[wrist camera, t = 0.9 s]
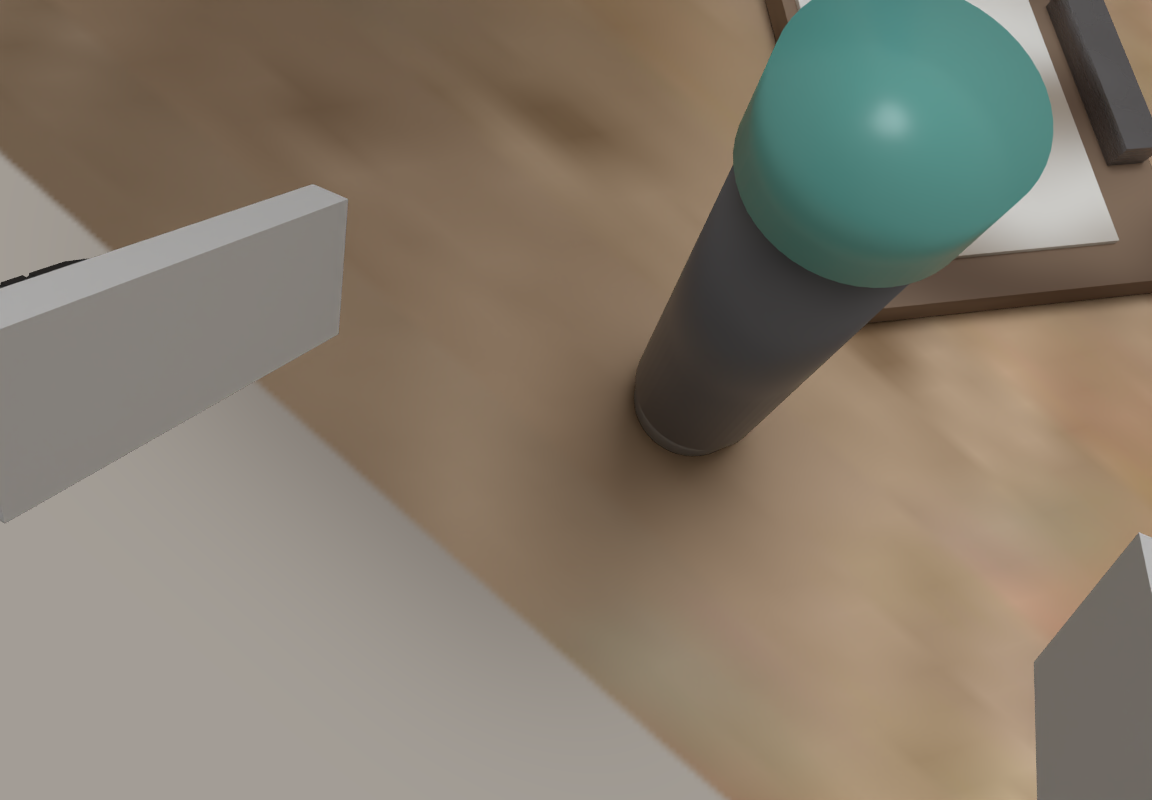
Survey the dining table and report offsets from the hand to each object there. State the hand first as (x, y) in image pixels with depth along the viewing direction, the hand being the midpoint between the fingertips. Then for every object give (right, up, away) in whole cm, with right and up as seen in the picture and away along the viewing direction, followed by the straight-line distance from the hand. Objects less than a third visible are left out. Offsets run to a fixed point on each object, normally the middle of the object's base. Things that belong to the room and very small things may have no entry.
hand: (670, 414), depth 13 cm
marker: (+2, 0, +13) cm, 13 cm away
